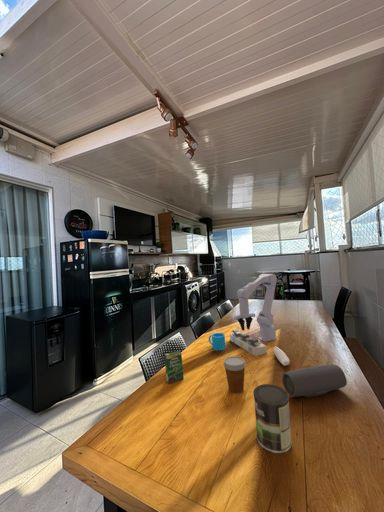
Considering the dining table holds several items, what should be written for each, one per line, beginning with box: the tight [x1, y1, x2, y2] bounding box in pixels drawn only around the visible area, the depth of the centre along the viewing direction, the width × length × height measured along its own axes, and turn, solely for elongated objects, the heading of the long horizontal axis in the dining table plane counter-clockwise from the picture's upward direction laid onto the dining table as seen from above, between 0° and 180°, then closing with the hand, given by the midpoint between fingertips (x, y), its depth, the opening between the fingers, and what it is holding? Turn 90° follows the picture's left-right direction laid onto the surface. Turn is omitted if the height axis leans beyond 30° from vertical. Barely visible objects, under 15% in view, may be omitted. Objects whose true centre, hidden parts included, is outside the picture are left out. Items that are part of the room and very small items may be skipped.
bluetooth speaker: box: [281, 364, 348, 398], centre depth 90 cm, size 23×9×10 cm, turn 100°
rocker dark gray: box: [240, 333, 250, 338], centre depth 140 cm, size 3×6×2 cm, turn 21°
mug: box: [208, 332, 226, 352], centre depth 142 cm, size 12×8×8 cm
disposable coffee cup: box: [222, 355, 246, 394], centre depth 96 cm, size 10×10×12 cm
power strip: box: [229, 332, 268, 357], centre depth 143 cm, size 8×34×5 cm, turn 21°
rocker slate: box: [248, 338, 260, 343], centre depth 131 cm, size 3×6×2 cm, turn 21°
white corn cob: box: [273, 346, 291, 367], centre depth 120 cm, size 5×20×5 cm, turn 176°
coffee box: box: [164, 350, 184, 385], centre depth 106 cm, size 8×3×13 cm, turn 113°
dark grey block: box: [232, 328, 242, 336], centre depth 148 cm, size 3×6×2 cm, turn 21°
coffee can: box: [252, 383, 293, 454], centre depth 69 cm, size 10×10×14 cm
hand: (245, 329), depth 140 cm, fingers open, 3 cm apart
